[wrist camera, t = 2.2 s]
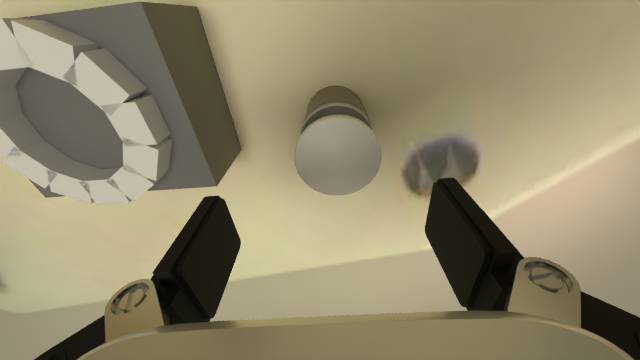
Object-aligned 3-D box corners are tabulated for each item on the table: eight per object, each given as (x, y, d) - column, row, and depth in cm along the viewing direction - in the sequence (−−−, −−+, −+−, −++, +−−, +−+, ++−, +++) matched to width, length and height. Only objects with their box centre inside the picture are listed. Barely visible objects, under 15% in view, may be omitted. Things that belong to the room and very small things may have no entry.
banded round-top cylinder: (364, 81, 19) (383, 115, 12) (364, 139, 22) (379, 192, 15) (301, 87, 19) (287, 123, 13) (309, 143, 22) (301, 197, 16)
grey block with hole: (196, 6, 17) (117, -1, 10) (241, 149, 23) (208, 198, 16) (16, 30, 18) (-153, 36, 12) (104, 160, 24) (25, 210, 18)
